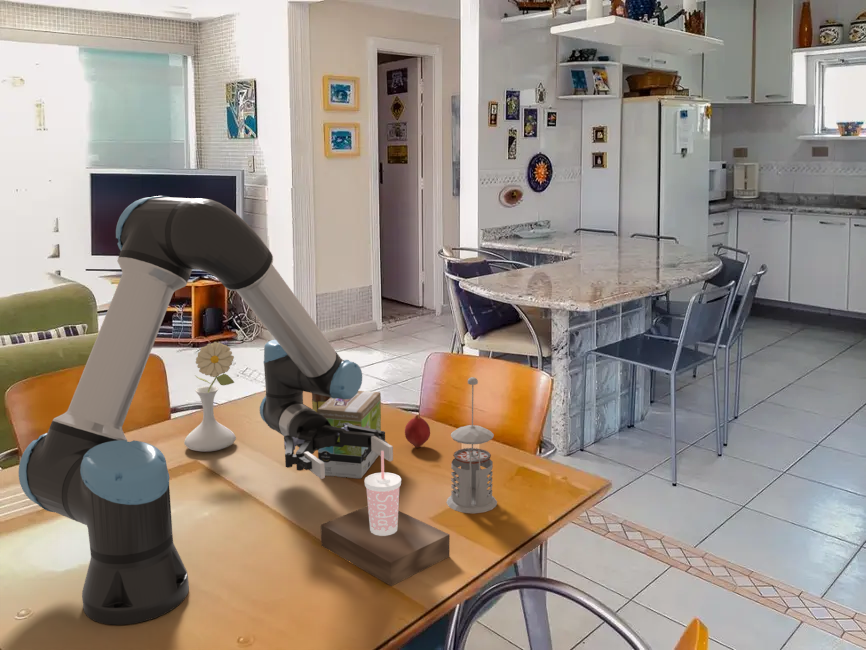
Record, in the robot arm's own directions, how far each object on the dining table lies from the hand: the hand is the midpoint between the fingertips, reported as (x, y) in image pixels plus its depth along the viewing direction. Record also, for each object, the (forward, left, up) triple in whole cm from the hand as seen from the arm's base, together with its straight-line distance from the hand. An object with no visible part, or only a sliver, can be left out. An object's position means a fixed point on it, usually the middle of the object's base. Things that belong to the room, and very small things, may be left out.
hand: (357, 462), depth 139 cm
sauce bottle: (+23, +40, -13) cm, 49 cm away
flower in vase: (+2, +55, -13) cm, 57 cm away
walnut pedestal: (-2, -9, -13) cm, 16 cm away
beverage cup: (-2, -9, -9) cm, 13 cm away
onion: (+35, +22, -13) cm, 44 cm away
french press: (+22, -7, -13) cm, 27 cm away
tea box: (+18, +25, -13) cm, 34 cm away
